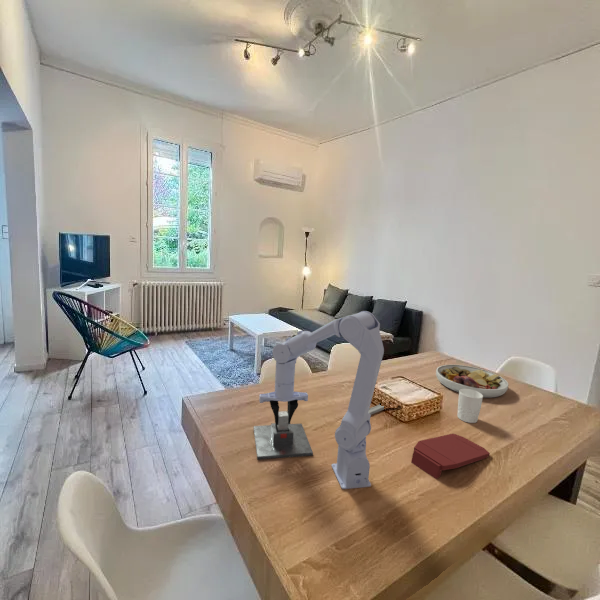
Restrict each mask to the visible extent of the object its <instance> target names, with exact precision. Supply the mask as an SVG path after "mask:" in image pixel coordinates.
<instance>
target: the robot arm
mask: <svg viewBox="0 0 600 600" xmlns="http://www.w3.org/2000/svg"><path fill="white" fill-rule="evenodd" d="M380 327H381V323H380V321H378V319H377V318H376V317H375V315H374V314H373V313H372V312H370V311H367V310H362V311H359V312H357V313H354V314H350V315H345V316H343V317H340V318H336V319H333V320H332V321H330V322H328V323H326V324H325V325H323V326H320V327H318V328H317V329H315V330H314V331H310V330H303V329H302V330H299V331H297V332H296V335H294V336H293V337H287V338H286V339H285V341H283V342H278V343H277V344H275V346H274V345H273V346H274V347H273V348H272V357H273V359H274V361H275V374H274V375H275V376H274V377H275V379H274V391H271V392H267V393H259V396H258V397H259V398H258V400H259V404H262V403H266V402H269V405H270V408H271V410H272V413H273V416H274V423H275V424H276V425H278V413H279V412H280V405H279V402H284V403H287V410H286V411H287V413H288V416H289V418H288V424H291V420H292V419H293V416H294V414H295V411H297V408H298V406H299V403H298V402H299V401H303V402H308V401H309V395H308V394H309V393H307V392H304V391H303V392H302V391H301V392H300V391H294V390H295V375H296V374H295V373H296V364H297V359H298V358H299V357H300V356H302V355H305V354H307V353H309V352H312V351H314V350H315V349H316V347H317V343H319V342H323V340H326V339H328V338H330V337H333V336H336V337H338V338H341V337H342V338H343V339H344V340H345V341H347V342H348V344H350V345H351V346H352V347H354V348H355V349H356V350H357V351H358V353H359V355H360V357H359V360H358V361H359V362H358V365H357V369H356V372H355V373H356V374H355V378H354V382H353V387H352V390H351V394H350V395H351V396H350V398H349V403H348V407H347V411H346V412H345V414H344V416H343V417H342V418H341V421H340V425H339V426H338V427H337V428H336V429H335V432H334V439H335V442H336V444H337V446H338V447H337V458H336V463H332V464H331V468H332V471H333V472H334V475H335V477H336V479H337V482H338V483H339V486H340V488H341V490H348V489H349V490H350V489H357V488H358V489H359V488H370V487H371V486H372V483H371V482H370V481H371V480H369V477H370V468H371V465H370V462H369V459H368V457H367V451H366V450H367V436H368V435H370V433H371V430H372V425H371V417H372V415H370V413H369V408H371V404H372V399H373V396H374V392H375V387H376V384H377V381H378V376H379V372H380V369H381V364H382V361H383V357H384V354H385V353H384V352H385V348H384V344H383V338H382V336H381V331H380V329H381V328H380Z"/></svg>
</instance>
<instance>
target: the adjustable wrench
mask: <svg viewBox="0 0 600 600" xmlns="http://www.w3.org/2000/svg"><path fill="white" fill-rule="evenodd" d="M383 410H384V406H381V405H380V404H377V405H375V406H373V407H370V408H369V413H370V415H371V416H372V415H374V414H376V413H379V412H381V411H383Z"/></svg>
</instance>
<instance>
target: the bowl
mask: <svg viewBox="0 0 600 600" xmlns="http://www.w3.org/2000/svg"><path fill="white" fill-rule="evenodd" d="M435 377H436V378H437V381H439V382H440V383H441V384H442V386H445V387H446V388H448V389H450V390H452V391H454V392H456V393H459V390H461V389H470V390H474V391H477V392H479V393H481V394H482V395H483V398H485V399H486V398H498V397H500V396H503V395H504V394H506V392H507V391H508V390H509V389H508V388H509V382H508V380H506V378H503V377H502V376H501V375H499V374H496V373H495V372H491V371H489V370H486V369H484V368H483V369H482V368H479V367H473V366H470V365H463V364H444V365H440V366H438V367H437V368H436V370H435Z"/></svg>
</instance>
